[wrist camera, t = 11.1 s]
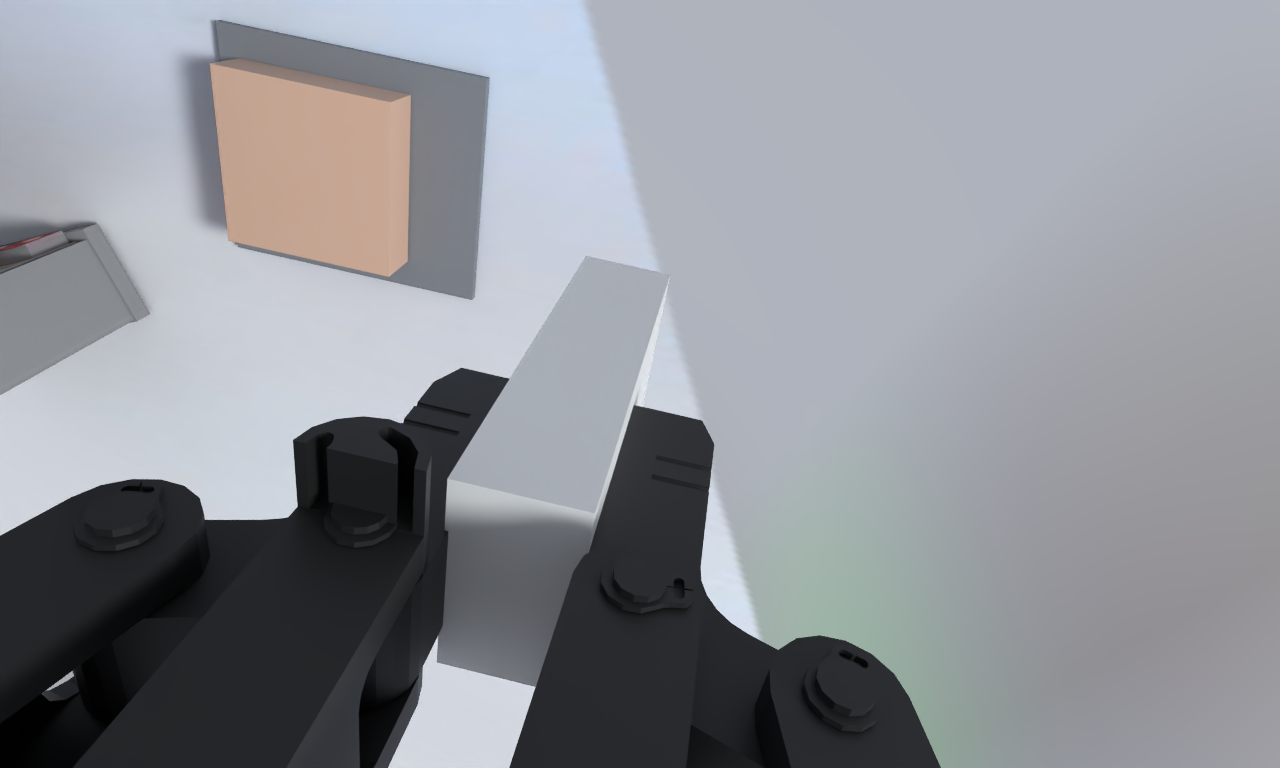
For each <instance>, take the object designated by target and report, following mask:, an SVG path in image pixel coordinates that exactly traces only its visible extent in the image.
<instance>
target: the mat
mask: <svg viewBox="0 0 1280 768" xmlns="http://www.w3.org/2000/svg"><path fill="white" fill-rule="evenodd" d="M216 30H217V40H218V50H219V60H220V62H221V61H226V60H232V59H238V58H242V59H247V60H251V61H256V62H261V63H265V64H270V65H275V66H279V67H284V68H289V69H293V70H298V71H303V72H307V73H312V74H317V75H321V76H326V77H331V78H335V79H340V80H344V81H349V82H354V83H358V84H363V85H368V86H372V87H377V88H382V89H386V90H391V91H396V92H400V93H405V94H410V95H411V117H410V167H409V217H408V262H407V263H405V264H404V265H403V266H402V267H400V268H399V269H398V270H397V271H396V272H394V273H393V274H392V275H391V276H390V277H387V276H383V275H378V274H374V273H370V272H365V271H361V270H356V269H352V268H347V267H343V266H339V265H334V264H330V263H325V262H321V261H316V260H312V259H308V258H303V257H299V256H294V255H290V254H285V253H281V252H277V251H272V250H268V249H263V248H259V247H254V246H250V245H246V244H241V243H238V247H240V248H245V249H249V250H254V251H258V252H262V253H267V254H271V255H276V256H280V257H285V258H289V259H293V260H298V261H302V262H307V263H311V264H316V265H320V266H324V267H329V268H333V269H338V270H342V271H347V272H351V273H355V274H360V275H364V276H369V277H373V278H377V279H382V280H386V281H391V282H395V283H400V284H404V285H408V286H413V287H417V288H422V289H426V290H431V291H435V292H439V293H444V294H448V295H453V296H457V297H462V298H466V299H470V300H472V299H473V298H474V294H475V280H476V265H477V251H478V237H479V222H480V208H481V193H482V179H483V164H484V150H485V136H486V121H487V107H488V92H489V77H484V76H479V75H475V74H470V73H465V72H461V71H456V70H451V69H447V68H442V67H437V66H432V65H428V64H423V63H418V62H414V61H409V60H404V59H400V58H395V57H390V56H386V55H381V54H376V53H371V52H367V51H362V50H357V49H353V48H348V47H343V46H339V45H334V44H329V43H325V42H320V41H315V40H310V39H306V38H301V37H296V36H292V35H287V34H282V33H278V32H273V31H268V30H264V29H259V28H254V27H249V26H245V25H240V24H235V23H231V22H226V21H221V20H219V21H216Z"/></svg>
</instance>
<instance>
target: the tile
mask: <svg viewBox="0 0 1280 768" xmlns="http://www.w3.org/2000/svg"><path fill="white" fill-rule="evenodd" d="M210 70H211V80H212V89H213V98H214V108H215V117H216V127H217V136H218V145H219V155H220V164H221V174H222V183H223V193H224V202H225V211H226V221H227V230H228V240H229V241H232V242H237V243H241V244H246V245H250V246H254V247H259V248H263V249H268V250H272V251H277V252H281V253H285V254H290V255H294V256H299V257H303V258H308V259H312V260H316V261H321V262H325V263H330V264H334V265H339V266H343V267H347V268H352V269H356V270H361V271H365V272H370V273H374V274H378V275H383V276H387V277H390V276H391V275H392V274H393V273H394V272H396V271H397V270H398V269H399V268H400V267H402V266H403V265H404V264H405V263H407V262H408V217H409V167H410V117H411V95H410V94H405V93H400V92H396V91H391V90H386V89H382V88H377V87H372V86H368V85H363V84H358V83H354V82H349V81H344V80H340V79H335V78H331V77H326V76H321V75H317V74H312V73H307V72H303V71H298V70H293V69H289V68H284V67H279V66H275V65H270V64H265V63H261V62H256V61H251V60H247V59H242V58H238V59H232V60H226V61H221V62H215V63H210Z"/></svg>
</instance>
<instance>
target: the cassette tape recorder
mask: <svg viewBox="0 0 1280 768" xmlns="http://www.w3.org/2000/svg"><path fill="white" fill-rule="evenodd" d="M149 314H150V313H149V311H148V309H147V307H146V306H145V304H144V302H143V301H142V299H141V297H140V295H139V294H138V292H137V290H136V289H135V287H134V285H133V283H132V282H131V280H130V278H129V277H128V275H127V273H126V271H125V270H124V268H123V266H122V265H121V263H120V261H119V259H118V258H117V256H116V254H115V253H114V251H113V249H112V247H111V246H110V244H109V242H108V241H107V239H106V237H105V235H104V234H103V232H102V230H101V229H100V227H99V225H98V224H94V225H90V226H86V227H82V228H78V229H74V230H70V231H66V232H62V230H61V231H57V232H53V233H49V234H45V235H41V236H37V237H33V238H29V239H26V240H24V241H20V242H16V243H12V244H8V245H4V246H0V395H1V394H3V393H5V392H6V391H8V390H10V389H12V388H14V387H15V386H17V385H19V384H21V383H22V382H24V381H26V380H28V379H30V378H31V377H33V376H35V375H37V374H38V373H40V372H42V371H44V370H46V369H47V368H49V367H51V366H53V365H55V364H56V363H58V362H60V361H62V360H63V359H65V358H67V357H69V356H71V355H72V354H74V353H76V352H78V351H79V350H81V349H83V348H85V347H87V346H88V345H90V344H92V343H94V342H95V341H97V340H99V339H101V338H103V337H104V336H106V335H108V334H110V333H112V332H113V331H115V330H117V329H119V328H120V327H122V326H124V325H126V324H128V323H130V322H135V321H138V320H140V319H142V318H144V317H145V316H147V315H149Z"/></svg>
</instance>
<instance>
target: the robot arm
mask: <svg viewBox="0 0 1280 768" xmlns="http://www.w3.org/2000/svg"><path fill="white" fill-rule="evenodd" d="M669 278H670V275H669V274H664V273H660V272H655V271H651V270H646V269H642V268H637V267H633V266H628V265H624V264H619V263H615V262H610V261H606V260H601V259H597V258H592V257H588V256H586V257H585V259H584V260H583V262H582V264H581V265H580V267H579V268H578V270H577V272H576V273H575V275H574V276H573V278H572V280H571V281H570V283H569V284H568V286H567V288H566V289H565V291H564V292H563V294H562V296H561V297H560V299H559V300H558V302H557V304H556V305H555V307H554V309H553V310H552V312H551V313H550V315H549V317H548V318H547V320H546V321H545V323H544V325H543V326H542V328H541V329H540V331H539V333H538V334H537V336H536V337H535V339H534V341H533V342H532V344H531V345H530V347H529V349H528V350H527V352H526V353H525V355H524V357H523V358H522V360H521V361H520V363H519V365H518V366H517V368H516V369H515V371H514V373H513V374H512V376H511V377H510V379H508V378H503V377H499V376H495V375H490V374H486V373H482V372H477V371H473V370H469V369H464V368H460V369H458V370H456V371H454V372H452V373H450V374H448V375H447V376H445V377H443V378H441V379H439V380H437V381H435V382H433V384H432V385H431V386H430V387H429V389H428V390H427V391H426V392H425V394H424V395H423V396H422V397H421V399H420V400H419V401H418V404H417V406H414V407H413V409H412V410H411V411H410V412H409V414H408V415H407V416H406V417H405V419H404V423H401V424H400V423H398V422H395V421H392V420H390V419H381V418H372V417H353V418H343V419H336V420H332V421H329V422H326V423H323V424H320V425H317V426H314V427H312V428H310V429H309V430H307V431H306V432H304V433H303V434H301V435H300V436H298V437H297V438H296V439H294V440H293V446H294V460H295V474H296V488H297V502H298V507H297V508H296V509H295V510H294V512H293V513H292V514H291V515H290V516H289V517H288V518H282V519H269V520H205V518H204V513H203V509H202V505H201V502H200V498H199V497H198V496H196V495H195V494H194V493H193V492H191V491H190V490H189V489H187V488H186V487H185V486H182V485H179V484H175V483H171V482H168V481H164V480H148V479H131V480H126V481H121V482H116V483H110V484H105V485H100V486H98V487H96V488H93V489H91V490H88V491H86V492H83V493H81V494H78V495H76V496H73V497H71V498H69V499H67V500H66V501H64V502H62V503H60V504H58V505H56V506H54V507H53V508H51V509H49V510H47V511H45V512H43V513H42V514H40V515H38V516H36V517H34V518H32V519H30V520H29V521H27V522H25V523H23V524H21V525H19V526H17V527H16V528H14V529H12V530H10V531H8V532H6V533H5V534H3V535H1V536H0V768H388V766H389V764H390V762H391V760H392V758H393V755H394V753H395V751H396V749H397V747H398V745H399V743H400V741H401V738H402V736H403V734H404V732H405V730H406V728H407V726H408V724H409V721H410V719H411V717H412V715H413V713H414V711H415V709H416V707H417V704H418V700H419V696H420V691H421V687H422V670H423V665H424V663H425V661H426V659H427V657H428V655H429V653H430V651H431V649H432V647H433V645H434V642H435V640H436V638H437V636H438V652H437V662H438V663H442V664H446V665H450V666H454V667H458V668H462V669H466V670H470V671H474V672H478V673H482V674H486V675H490V676H495V677H499V678H503V679H507V680H511V681H515V682H519V683H523V684H527V685H531V686H535V687H536V688H535V691H534V694H533V697H532V700H531V703H530V706H529V709H528V712H527V715H526V719H525V722H524V725H523V728H522V731H521V734H520V737H519V740H518V743H517V746H516V749H515V752H514V755H513V758H512V762H511V765H510V768H941V767H940V765H939V763H938V760H937V758H936V756H935V754H934V752H933V749H932V747H931V745H930V743H929V740H928V738H927V736H926V734H925V732H924V729H923V727H922V725H921V722H920V720H919V718H918V716H917V713H916V711H915V709H914V707H913V705H912V702H911V700H910V698H909V696H908V695H907V693H906V692H905V690H904V688H903V687H902V685H901V684H900V682H899V681H898V679H897V678H896V677H895V675H894V673H892V672H891V671H890V670H889V669H888V668H887V667H886V666H885V665H883V664H882V663H881V662H880V661H879V660H878V659H877V658H875V657H874V656H873V655H872V654H870V653H868V652H867V651H864V650H863V649H861V648H859V647H856V646H855V645H853V644H851V643H849V642H847V641H844V640H839V639H834V638H829V637H825V636H812V637H805V638H796V639H795V640H793V641H792V642H790V643H788V644H787V645H786V646H784V647H782V648H781V649H779V650H777V649H775V648H773V647H771V646H769V645H768V644H766V643H764V642H762V641H760V640H758V639H756V638H754V637H752V636H751V635H749V634H747V633H746V632H744V631H742V630H741V629H739V628H738V627H736V626H735V625H733V624H732V623H730V622H729V621H728V620H727V619H726V618H725V617H724V616H723V615H722V614H721V613H720V612H719V611H718V610H717V609H716V608H715V606H714V605H713V603H712V602H711V601H710V599H709V598H708V596H707V595H706V592H705V589H704V587H703V584H702V581H701V568H700V566H701V557H702V548H703V539H704V531H705V522H706V513H707V504H708V495H709V492H708V491H709V486H710V477H711V468H712V459H713V451H714V443H713V441H712V439H711V437H710V435H709V433H708V431H707V429H706V427H705V425H704V423H703V421H701V420H697V419H693V418H688V417H684V416H680V415H675V414H671V413H667V412H662V411H658V410H654V409H649V408H645V407H643V403H644V398H645V393H646V388H647V384H648V379H649V374H650V369H651V364H652V360H653V355H654V350H655V345H656V341H657V336H658V331H659V326H660V321H661V317H662V312H663V307H664V302H665V298H666V293H667V288H668V283H669ZM438 634H439V635H438ZM71 671H73V673H74V677H72V678H71V679H69V680H68V681H67V682H64V683H63V684H61V685H59V686H57V687H55V688H53V689H51V690H49V691H45V690H47V689H48V688H49V687H51V686H52V685H54V684H55V683H56V682H57V681H59V680H60V679H62V678H63V677H64V676H66V675H67V674H68V673H70V672H71Z"/></svg>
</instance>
